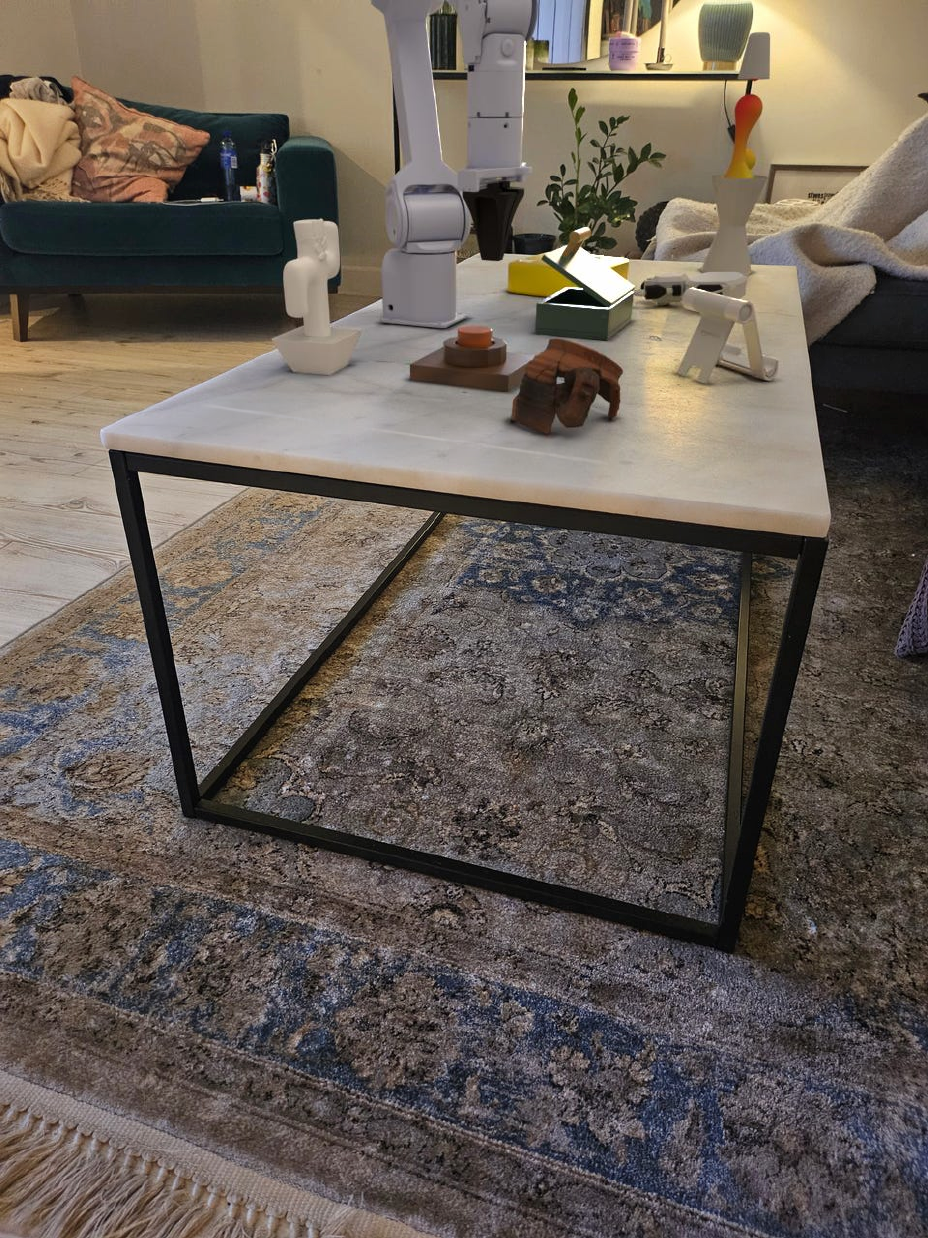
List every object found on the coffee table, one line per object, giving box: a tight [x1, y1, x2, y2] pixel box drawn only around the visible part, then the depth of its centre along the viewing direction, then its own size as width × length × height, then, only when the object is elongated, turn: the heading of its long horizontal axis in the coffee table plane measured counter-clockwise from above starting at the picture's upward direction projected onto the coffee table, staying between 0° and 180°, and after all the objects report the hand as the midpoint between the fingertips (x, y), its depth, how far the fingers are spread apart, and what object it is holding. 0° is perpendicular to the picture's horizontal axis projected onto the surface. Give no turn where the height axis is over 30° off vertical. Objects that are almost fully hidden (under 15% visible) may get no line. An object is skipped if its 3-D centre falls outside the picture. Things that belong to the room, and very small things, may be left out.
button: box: [457, 325, 493, 347], centre depth 92 cm, size 4×4×2 cm
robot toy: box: [633, 272, 751, 306], centre depth 126 cm, size 12×4×15 cm
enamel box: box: [534, 287, 635, 341], centre depth 114 cm, size 9×12×4 cm
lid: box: [541, 226, 636, 308], centre depth 110 cm, size 10×12×4 cm
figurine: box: [270, 218, 363, 376], centre depth 92 cm, size 7×9×15 cm
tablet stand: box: [677, 288, 779, 384], centre depth 92 cm, size 9×8×8 cm
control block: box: [409, 336, 537, 393], centre depth 93 cm, size 11×9×4 cm
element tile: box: [507, 251, 630, 298], centre depth 137 cm, size 15×15×5 cm
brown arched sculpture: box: [509, 337, 624, 436], centre depth 78 cm, size 12×10×8 cm
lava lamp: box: [700, 31, 771, 275], centre depth 145 cm, size 9×9×35 cm
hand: (492, 259), depth 96 cm, fingers closed
